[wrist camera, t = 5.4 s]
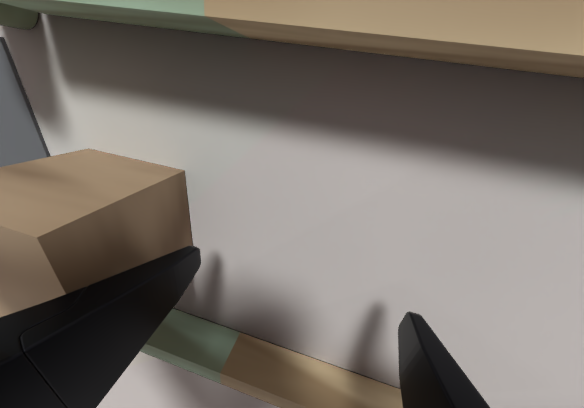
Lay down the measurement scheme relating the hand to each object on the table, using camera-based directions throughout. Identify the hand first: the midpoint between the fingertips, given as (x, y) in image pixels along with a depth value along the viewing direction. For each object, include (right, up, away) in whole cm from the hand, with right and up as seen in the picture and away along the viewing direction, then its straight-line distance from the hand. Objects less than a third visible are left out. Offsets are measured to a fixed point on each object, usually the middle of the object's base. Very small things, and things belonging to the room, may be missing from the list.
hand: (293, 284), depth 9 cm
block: (-8, +3, +3) cm, 9 cm away
